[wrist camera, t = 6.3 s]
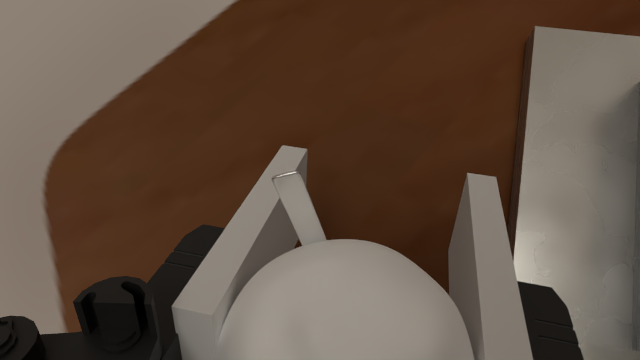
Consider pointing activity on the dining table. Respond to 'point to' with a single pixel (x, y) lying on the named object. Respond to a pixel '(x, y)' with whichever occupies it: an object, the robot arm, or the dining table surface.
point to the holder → (581, 183)
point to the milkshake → (339, 301)
